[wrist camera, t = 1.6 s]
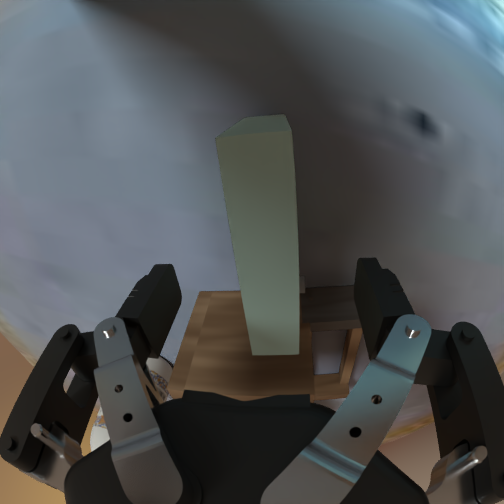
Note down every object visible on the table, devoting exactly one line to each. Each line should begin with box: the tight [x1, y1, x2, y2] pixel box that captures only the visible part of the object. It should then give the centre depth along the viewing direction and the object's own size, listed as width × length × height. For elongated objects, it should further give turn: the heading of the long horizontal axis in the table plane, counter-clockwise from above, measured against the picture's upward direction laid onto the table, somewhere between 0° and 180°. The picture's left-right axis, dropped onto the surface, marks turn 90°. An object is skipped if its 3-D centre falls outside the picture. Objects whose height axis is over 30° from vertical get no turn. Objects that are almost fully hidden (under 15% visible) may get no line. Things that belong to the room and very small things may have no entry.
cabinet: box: [167, 285, 362, 403], centre depth 23 cm, size 14×14×10 cm
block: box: [215, 114, 305, 355], centre depth 15 cm, size 11×3×9 cm, turn 6°
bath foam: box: [90, 356, 173, 451], centre depth 23 cm, size 7×7×20 cm
